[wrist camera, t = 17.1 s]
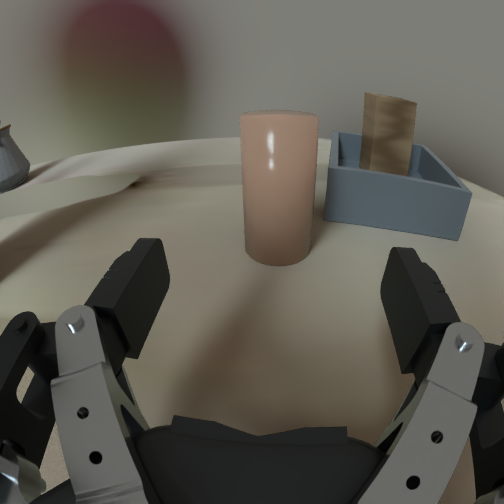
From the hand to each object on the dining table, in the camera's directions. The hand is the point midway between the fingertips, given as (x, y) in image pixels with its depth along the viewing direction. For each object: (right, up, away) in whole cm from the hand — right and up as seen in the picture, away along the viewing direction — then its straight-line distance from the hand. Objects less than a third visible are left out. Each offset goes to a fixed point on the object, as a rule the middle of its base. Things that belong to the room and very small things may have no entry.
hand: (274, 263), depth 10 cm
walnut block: (+16, +10, +24) cm, 30 cm away
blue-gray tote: (+15, +7, +22) cm, 27 cm away
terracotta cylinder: (+1, +1, +13) cm, 13 cm away
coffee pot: (-48, +12, +32) cm, 59 cm away
